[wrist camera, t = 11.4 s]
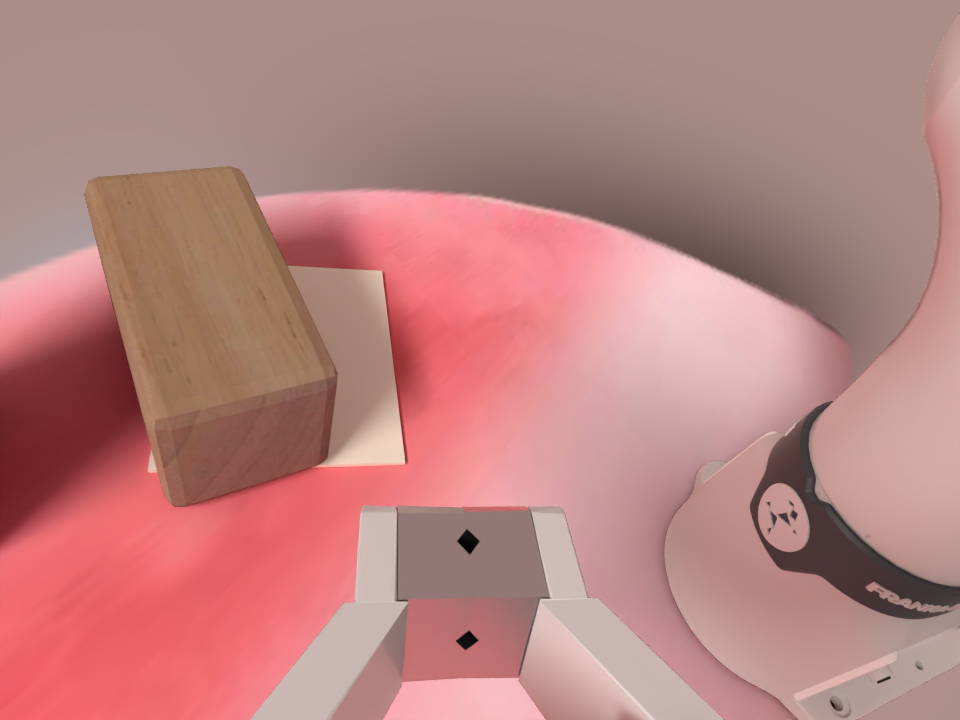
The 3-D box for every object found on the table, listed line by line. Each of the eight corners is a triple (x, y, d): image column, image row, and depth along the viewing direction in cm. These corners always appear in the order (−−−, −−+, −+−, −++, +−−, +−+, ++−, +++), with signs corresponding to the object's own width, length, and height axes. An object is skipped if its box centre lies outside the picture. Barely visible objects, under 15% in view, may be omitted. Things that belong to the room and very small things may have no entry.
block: (169, 518, 38) (107, 285, 48) (332, 467, 43) (245, 264, 53) (146, 424, 31) (78, 171, 41) (345, 375, 36) (241, 159, 45)
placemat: (381, 273, 56) (382, 271, 56) (404, 464, 45) (405, 462, 45) (180, 262, 52) (180, 259, 51) (148, 472, 40) (147, 470, 40)
